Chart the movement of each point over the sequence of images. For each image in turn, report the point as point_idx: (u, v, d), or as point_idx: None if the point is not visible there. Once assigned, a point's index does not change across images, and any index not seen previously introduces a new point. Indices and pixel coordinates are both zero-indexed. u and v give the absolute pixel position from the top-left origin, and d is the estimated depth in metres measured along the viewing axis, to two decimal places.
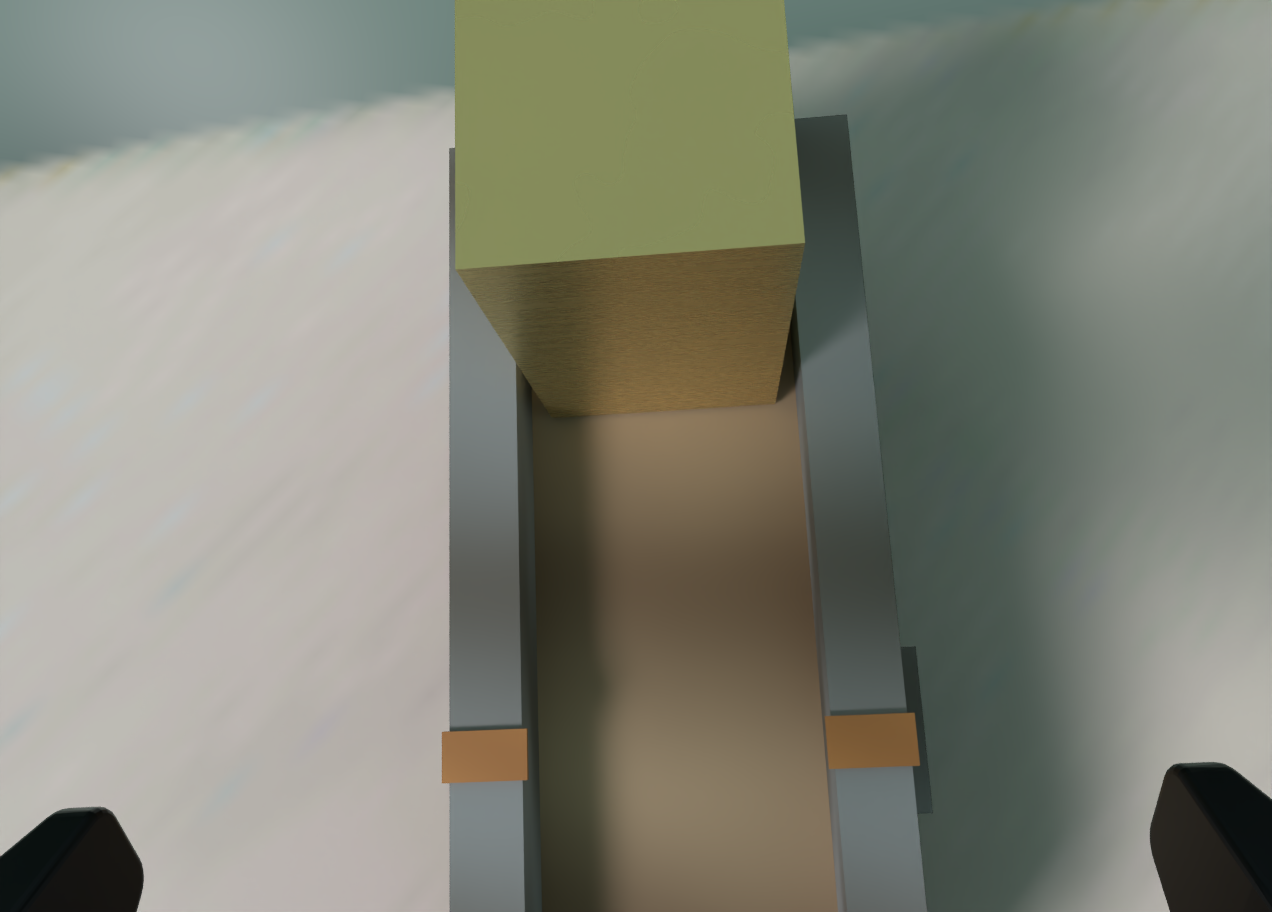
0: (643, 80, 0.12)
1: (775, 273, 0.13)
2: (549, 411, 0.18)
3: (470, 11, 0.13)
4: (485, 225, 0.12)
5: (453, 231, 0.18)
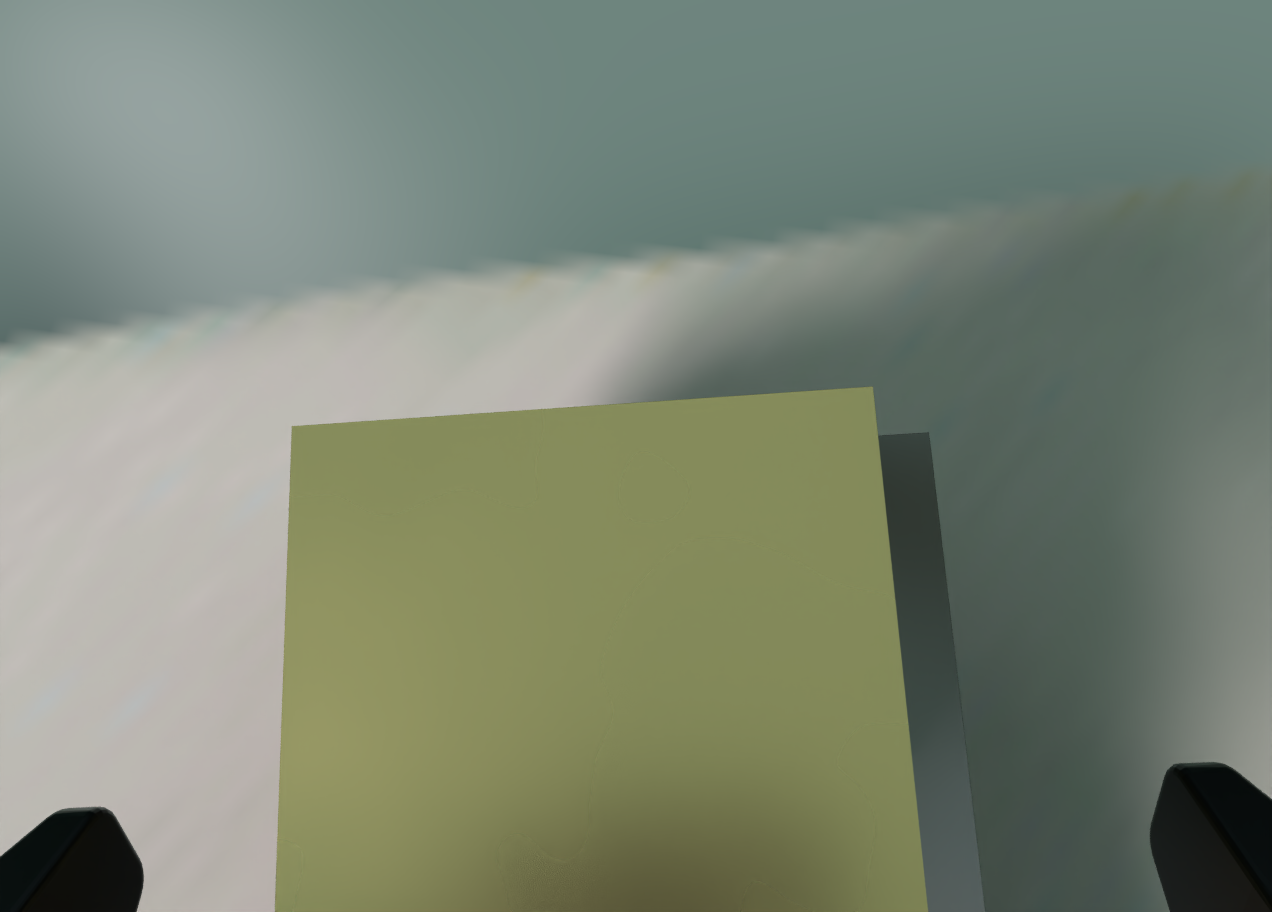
0: (627, 639, 0.07)
1: None
2: None
3: (317, 484, 0.07)
4: None
5: None
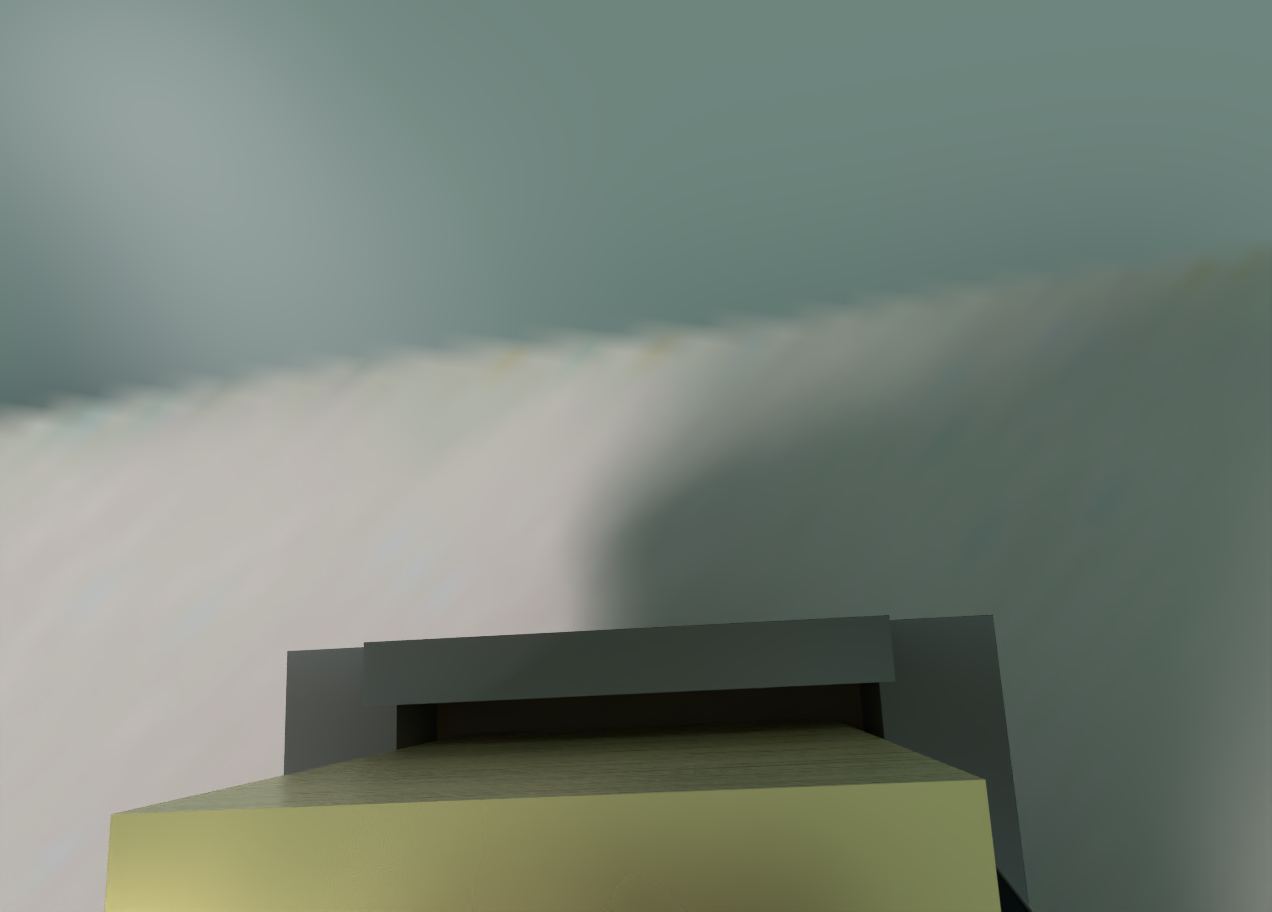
0: None
1: None
2: None
3: (144, 911, 0.05)
4: None
5: None
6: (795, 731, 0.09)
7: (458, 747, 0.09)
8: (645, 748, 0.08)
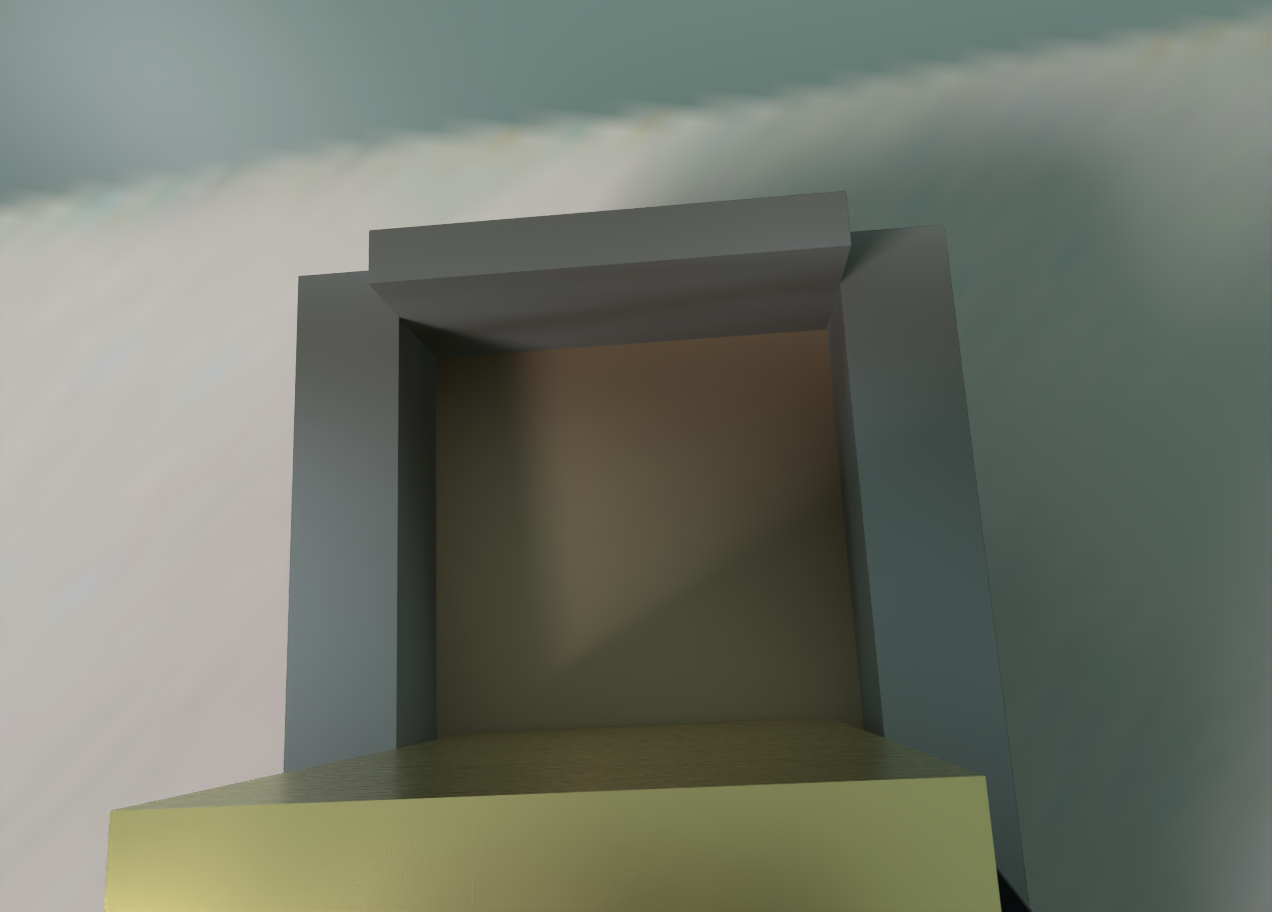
0: None
1: None
2: None
3: (144, 908, 0.05)
4: None
5: (300, 417, 0.11)
6: (795, 730, 0.09)
7: (458, 746, 0.09)
8: (645, 747, 0.08)
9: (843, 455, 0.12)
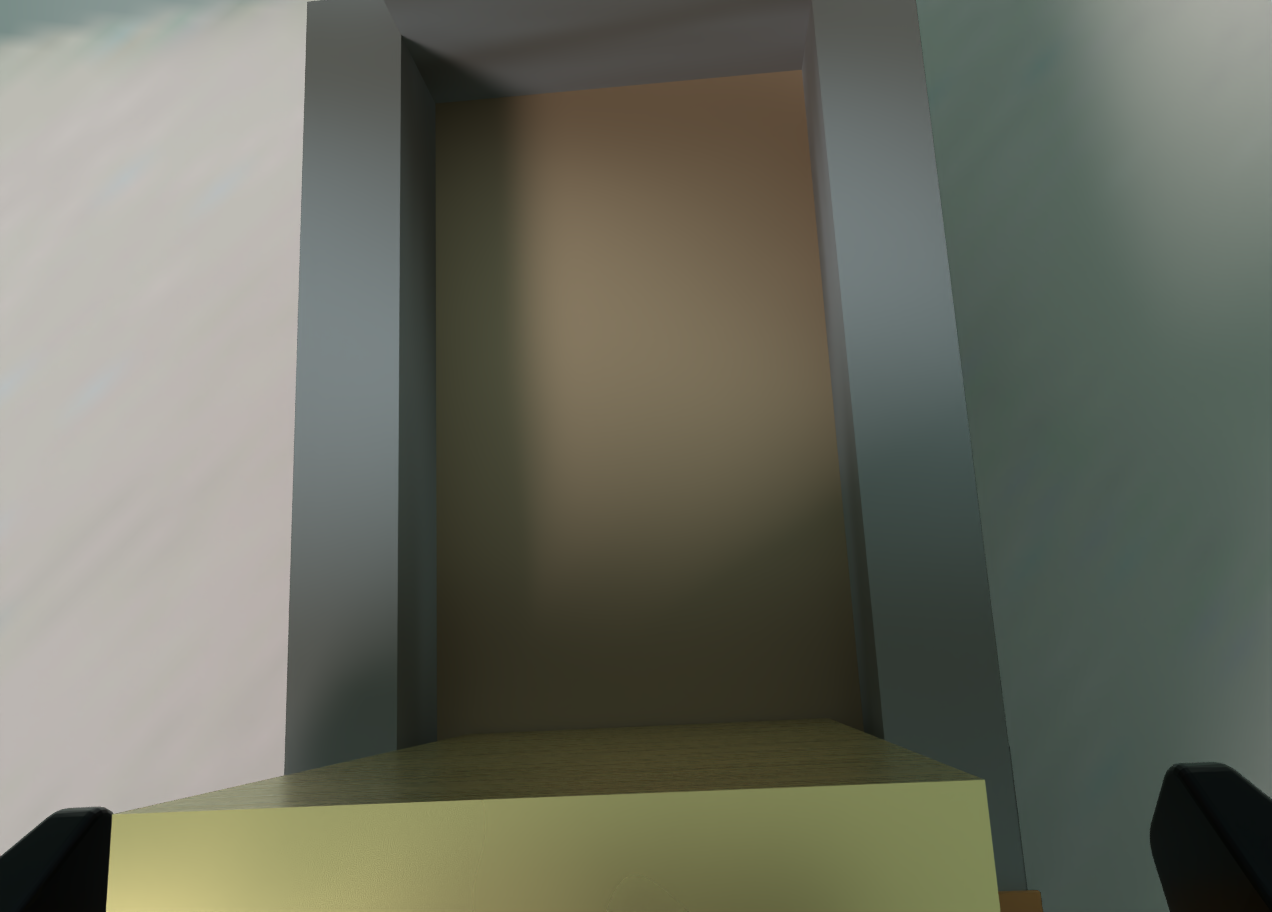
0: None
1: None
2: None
3: (146, 911, 0.05)
4: None
5: (309, 123, 0.12)
6: (795, 732, 0.09)
7: (458, 747, 0.09)
8: (645, 749, 0.08)
9: (816, 169, 0.12)
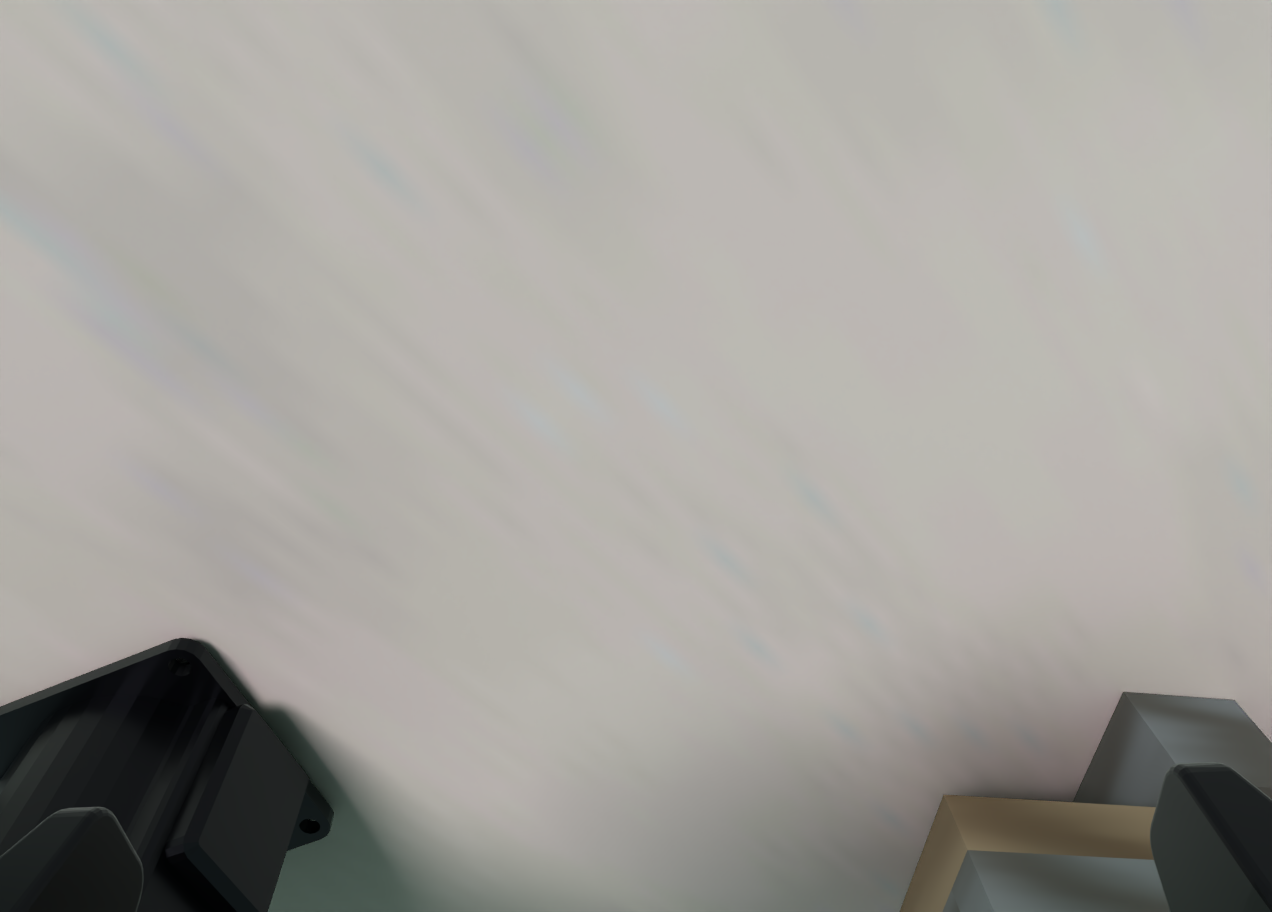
0: None
1: None
2: None
3: None
4: None
5: None
6: None
7: None
8: None
9: None
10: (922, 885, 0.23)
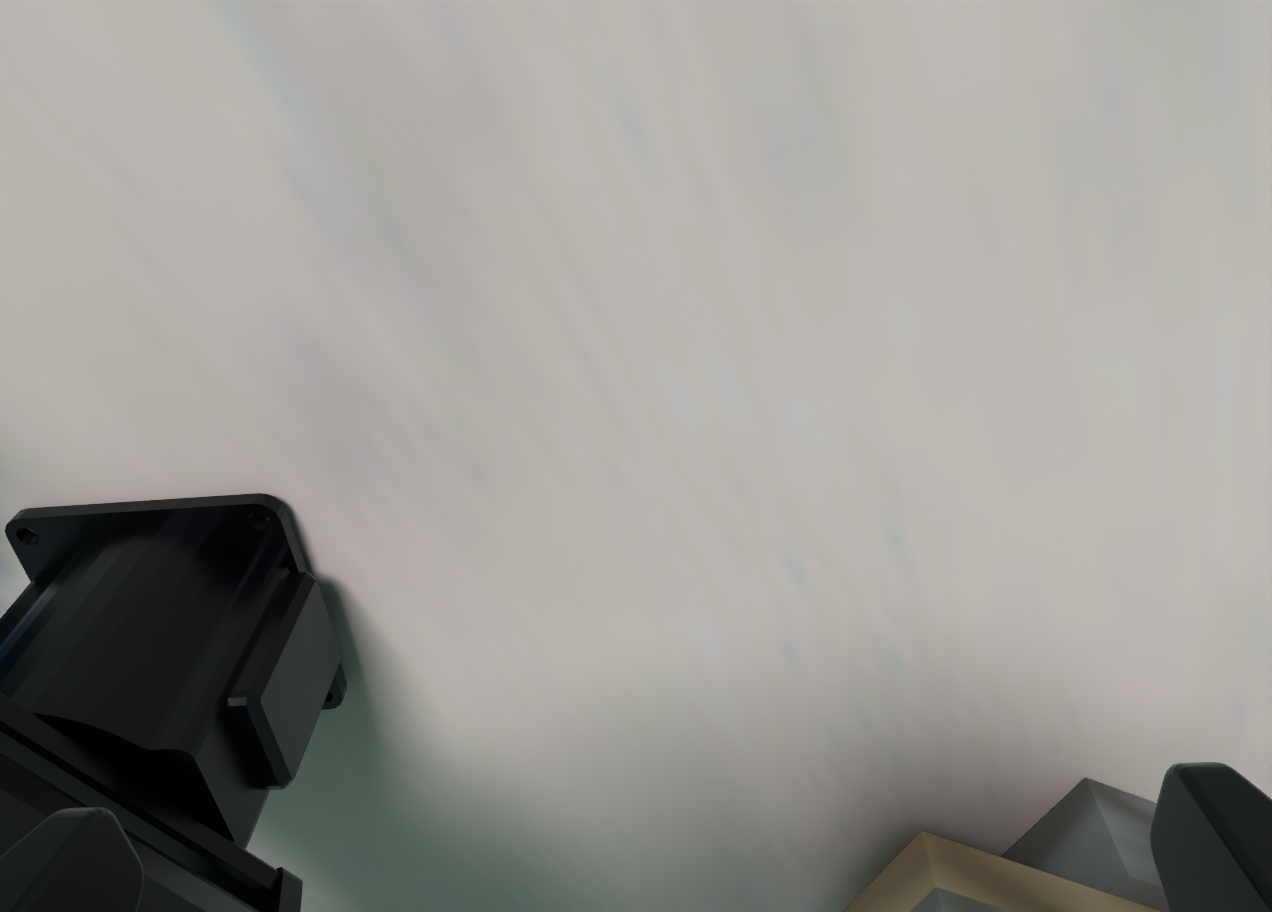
0: None
1: None
2: None
3: None
4: None
5: None
6: None
7: None
8: None
9: None
10: (873, 901, 0.25)
